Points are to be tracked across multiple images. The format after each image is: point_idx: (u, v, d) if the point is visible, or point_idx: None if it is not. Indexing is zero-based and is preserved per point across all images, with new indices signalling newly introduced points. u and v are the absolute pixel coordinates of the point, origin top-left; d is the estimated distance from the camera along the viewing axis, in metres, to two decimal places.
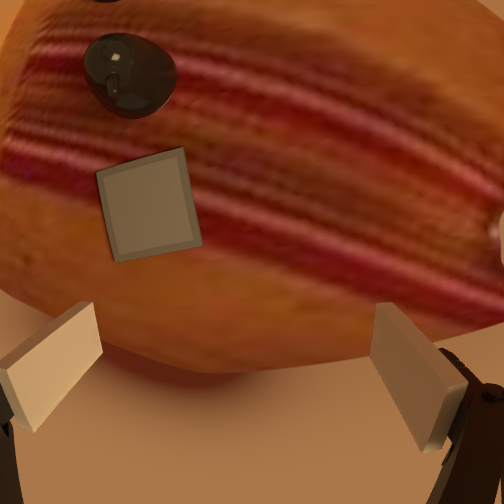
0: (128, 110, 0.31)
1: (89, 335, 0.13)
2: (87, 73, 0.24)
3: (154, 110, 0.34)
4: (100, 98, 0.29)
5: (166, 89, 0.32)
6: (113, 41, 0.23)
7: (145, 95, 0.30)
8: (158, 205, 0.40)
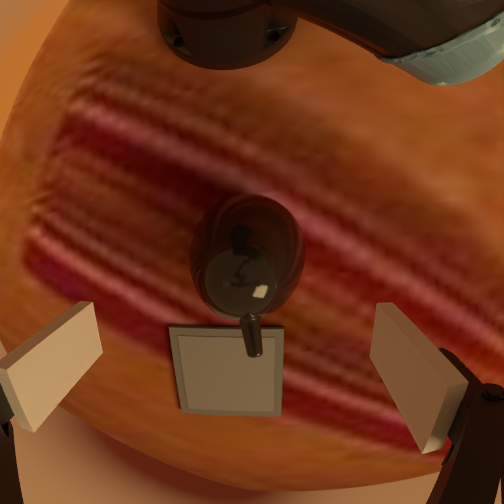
0: None
1: (89, 335, 0.13)
2: (211, 306, 0.20)
3: None
4: None
5: None
6: (267, 278, 0.19)
7: None
8: (243, 378, 0.36)
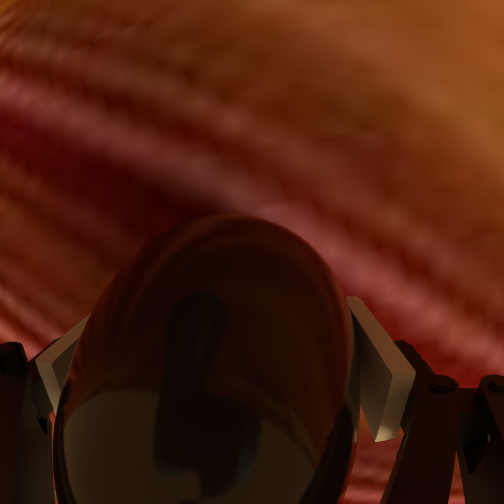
0: None
1: None
2: None
3: None
4: None
5: None
6: None
7: None
8: None
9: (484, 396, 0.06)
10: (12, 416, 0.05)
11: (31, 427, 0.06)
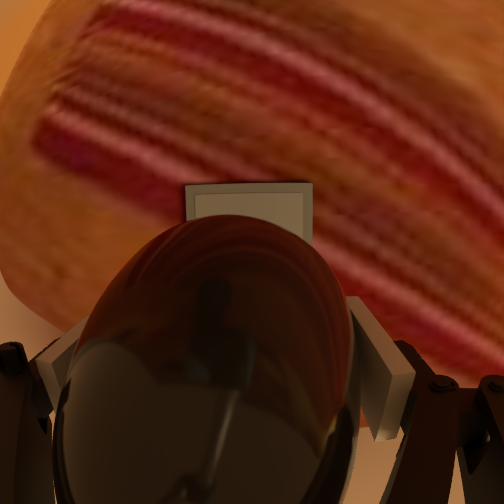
0: None
1: None
2: None
3: None
4: None
5: None
6: None
7: None
8: None
9: (484, 396, 0.06)
10: (12, 416, 0.05)
11: (31, 427, 0.06)
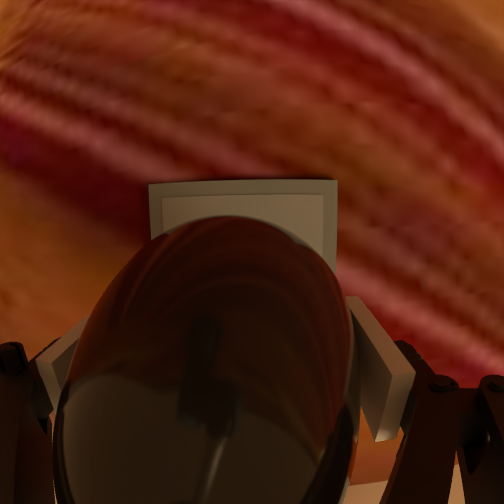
0: None
1: None
2: None
3: None
4: None
5: None
6: None
7: None
8: None
9: (484, 396, 0.06)
10: (12, 416, 0.05)
11: (31, 427, 0.06)
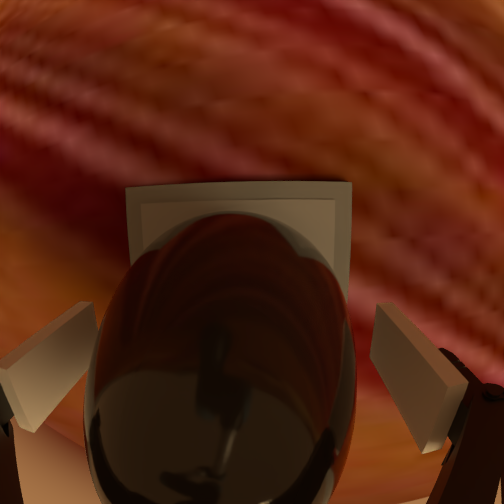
0: None
1: (89, 335, 0.13)
2: None
3: None
4: None
5: None
6: None
7: None
8: None
9: None
10: None
11: None
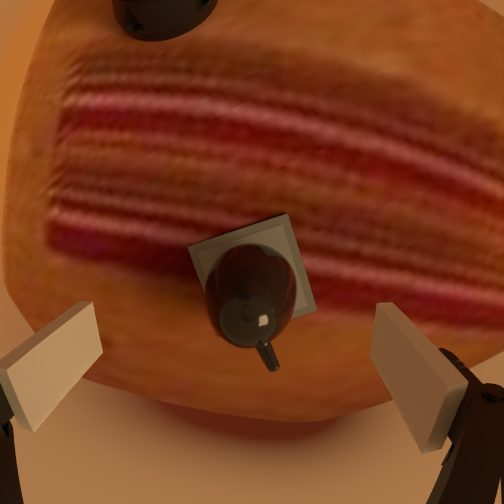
0: None
1: (89, 335, 0.13)
2: (232, 344, 0.27)
3: None
4: None
5: None
6: (263, 314, 0.25)
7: None
8: None
9: None
10: None
11: None
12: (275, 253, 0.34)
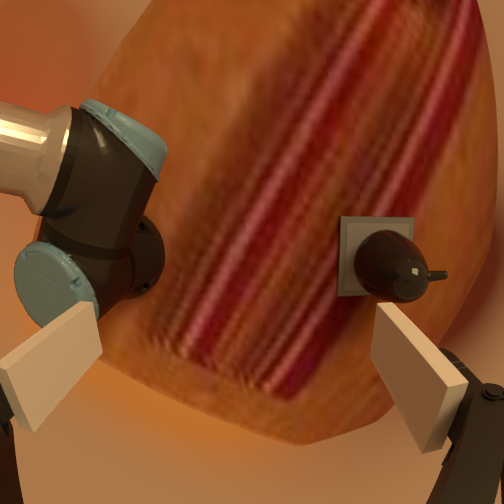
0: None
1: (89, 335, 0.13)
2: None
3: None
4: None
5: None
6: (412, 271, 0.34)
7: None
8: None
9: None
10: None
11: None
12: (370, 240, 0.43)
